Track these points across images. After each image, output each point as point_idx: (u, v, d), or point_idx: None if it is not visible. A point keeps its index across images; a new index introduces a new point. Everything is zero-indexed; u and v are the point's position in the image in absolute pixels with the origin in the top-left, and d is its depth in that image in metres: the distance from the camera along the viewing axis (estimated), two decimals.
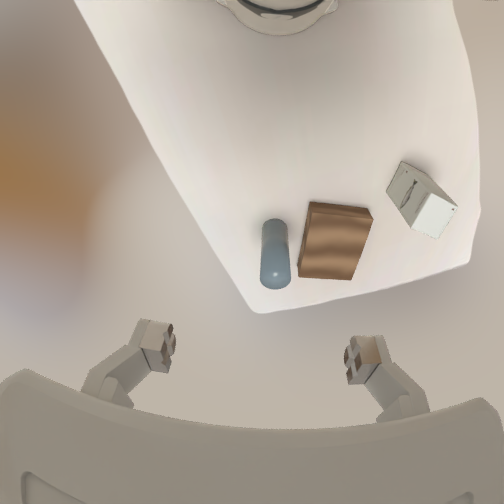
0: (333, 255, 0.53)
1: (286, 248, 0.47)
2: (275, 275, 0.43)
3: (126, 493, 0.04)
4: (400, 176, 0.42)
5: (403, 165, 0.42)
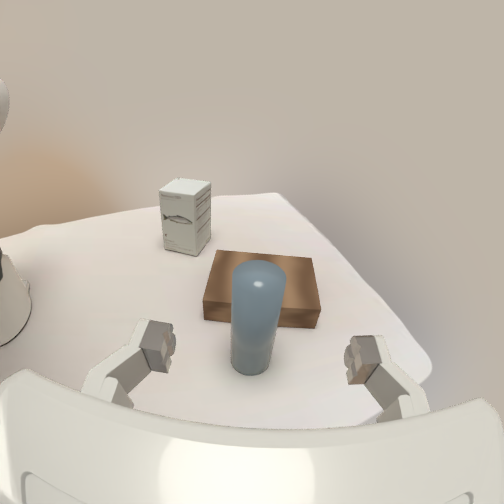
0: None
1: None
2: (250, 275, 0.25)
3: (126, 493, 0.04)
4: (173, 240, 0.50)
5: (164, 243, 0.51)
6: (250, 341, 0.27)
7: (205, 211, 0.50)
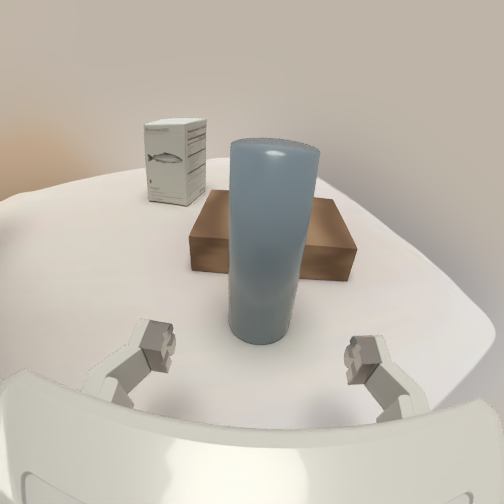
0: None
1: None
2: (260, 144, 0.14)
3: (126, 493, 0.04)
4: (159, 187, 0.39)
5: (149, 192, 0.40)
6: (261, 269, 0.16)
7: (199, 152, 0.39)
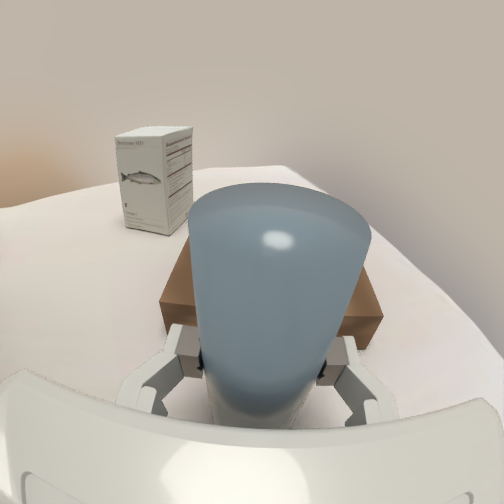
0: None
1: None
2: (249, 211, 0.07)
3: (126, 493, 0.04)
4: (135, 213, 0.32)
5: (125, 218, 0.33)
6: (253, 409, 0.09)
7: (183, 168, 0.32)
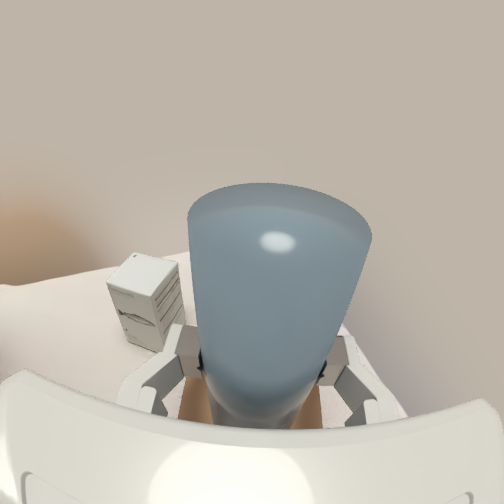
0: None
1: None
2: (249, 211, 0.07)
3: (126, 493, 0.04)
4: (136, 337, 0.35)
5: (127, 337, 0.36)
6: (252, 410, 0.09)
7: (173, 303, 0.35)
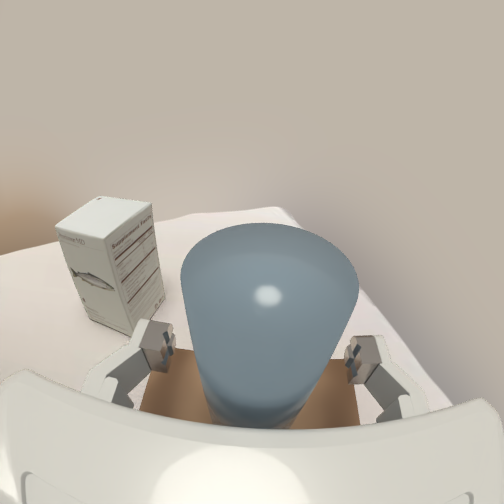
0: None
1: None
2: (240, 266, 0.08)
3: (126, 493, 0.04)
4: (96, 310, 0.25)
5: (87, 311, 0.26)
6: None
7: (144, 260, 0.25)
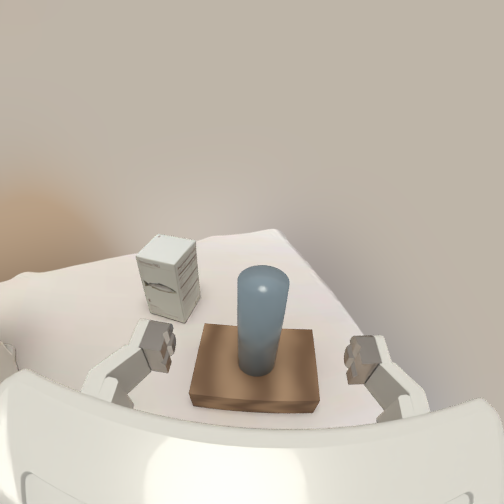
0: None
1: None
2: (254, 280, 0.26)
3: (126, 493, 0.04)
4: (158, 306, 0.43)
5: (149, 307, 0.44)
6: (256, 343, 0.28)
7: (191, 275, 0.43)
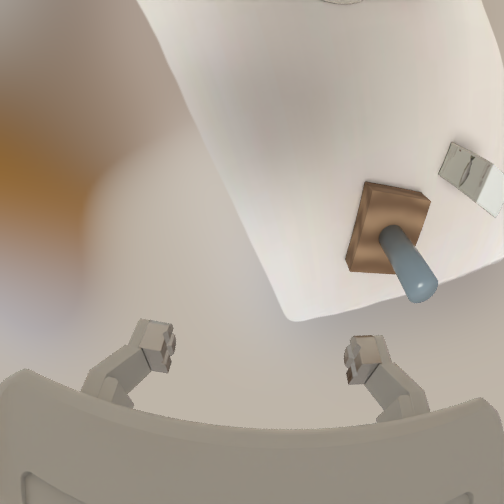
0: None
1: None
2: (425, 284, 0.31)
3: (126, 493, 0.04)
4: (454, 156, 0.35)
5: (455, 145, 0.35)
6: (394, 258, 0.37)
7: None
